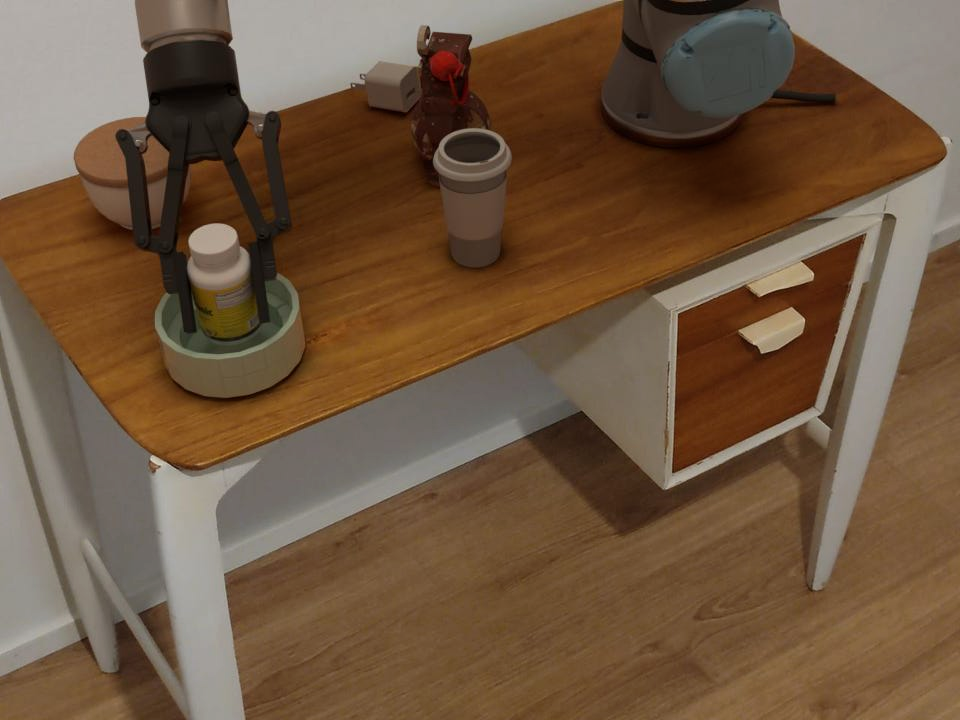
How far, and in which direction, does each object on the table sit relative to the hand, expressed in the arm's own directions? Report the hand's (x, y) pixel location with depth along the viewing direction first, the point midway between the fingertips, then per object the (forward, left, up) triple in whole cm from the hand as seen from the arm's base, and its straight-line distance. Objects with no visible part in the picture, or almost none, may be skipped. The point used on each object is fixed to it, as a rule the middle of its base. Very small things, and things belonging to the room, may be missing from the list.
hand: (227, 326), depth 107 cm
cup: (-23, -13, -6) cm, 27 cm away
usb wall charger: (-17, -41, -2) cm, 45 cm away
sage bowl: (0, -4, -6) cm, 7 cm away
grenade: (-23, -28, -6) cm, 37 cm away
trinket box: (+8, -26, -6) cm, 28 cm away
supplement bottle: (0, -4, -4) cm, 5 cm away
